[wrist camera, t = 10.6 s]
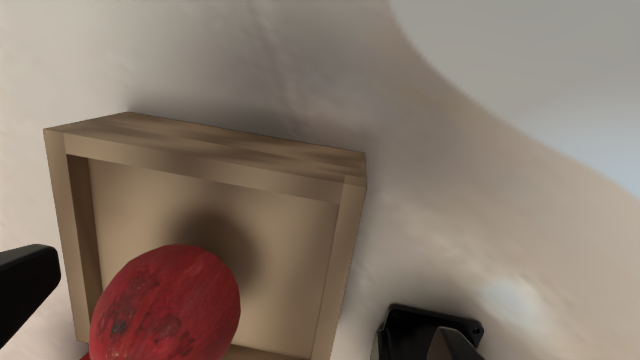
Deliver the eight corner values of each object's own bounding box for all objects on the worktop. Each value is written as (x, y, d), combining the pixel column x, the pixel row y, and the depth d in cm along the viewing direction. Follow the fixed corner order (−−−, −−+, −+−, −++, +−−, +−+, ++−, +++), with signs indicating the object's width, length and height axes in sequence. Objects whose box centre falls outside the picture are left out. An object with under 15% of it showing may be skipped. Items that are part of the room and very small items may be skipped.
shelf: (365, 153, 19) (366, 187, 14) (330, 320, 24) (322, 395, 18) (126, 111, 20) (42, 128, 15) (138, 280, 25) (76, 340, 19)
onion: (150, 213, 17) (-13, 330, 10) (256, 219, 16) (171, 349, 9) (167, 302, 19) (43, 458, 11) (263, 311, 18) (197, 480, 11)
